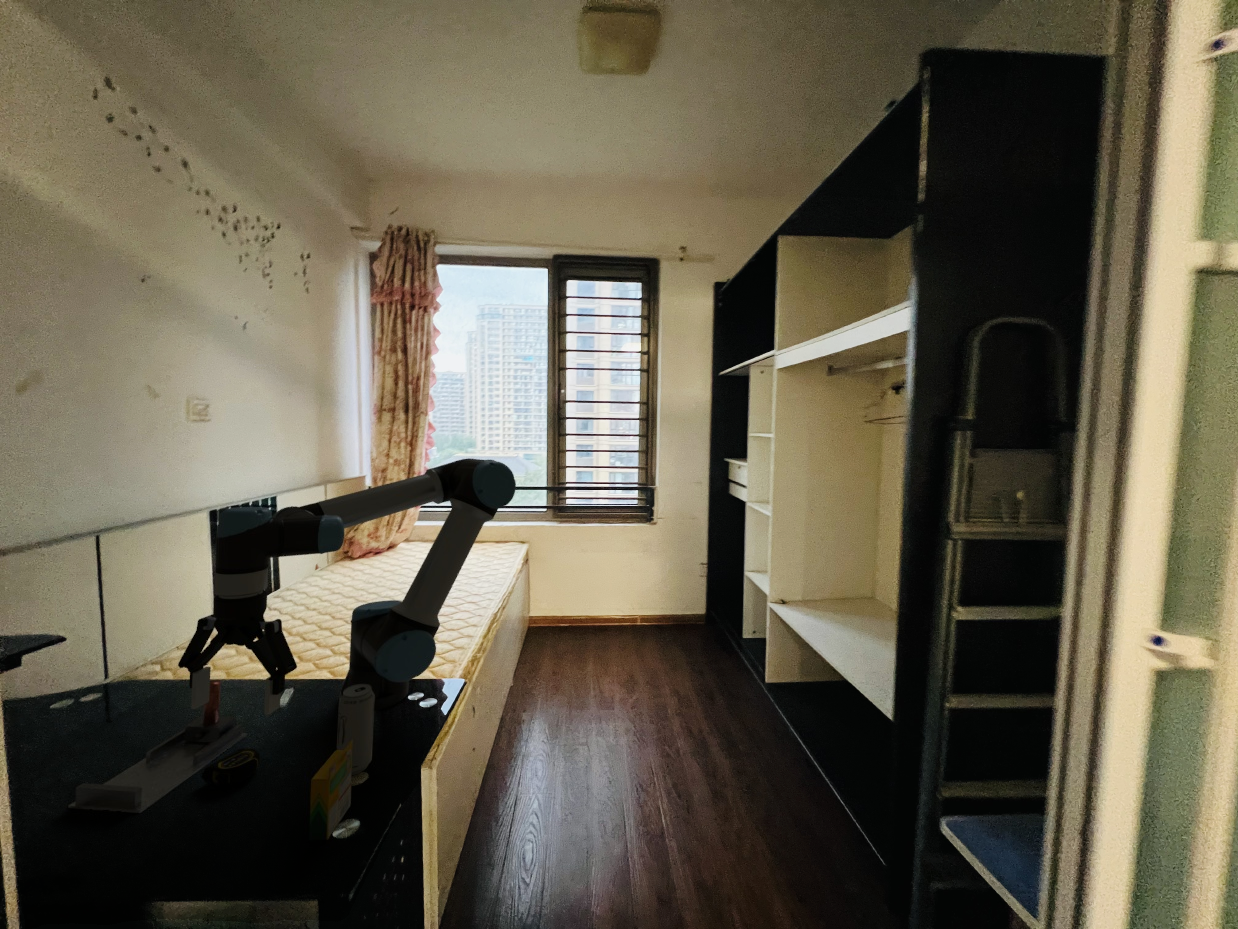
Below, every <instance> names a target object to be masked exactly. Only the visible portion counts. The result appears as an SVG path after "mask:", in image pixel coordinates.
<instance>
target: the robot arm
mask: <svg viewBox="0 0 1238 929" xmlns="http://www.w3.org/2000/svg"><path fill="white" fill-rule="evenodd" d="M514 476H515V475H514V472H513V471H512V470H511V469H510V467H509V466H507V465H506V464H505V463H503V462H501V461H497V460H494V459H477V458H462V459H458V460H455V461H452V462H449V463H446V464H442V465H439V466H436V467H435V466H434V467H431V468H427V469H426V471H425V472H424V473H423V474H419V475H416V476H413V477H408V478H405V479H400V480H397V481H392V482H389V483H385V484H382V485H378V486H373V487H370V488H367V489H362V490H359V491H355V492H351V493H348V494H343V495H340V496H336V497H335V496H334V497H332V498H329V499H328V498H327V499H324V500H319V501H317V502H314V503H308V504H305V505H301V506H296V505H295V506H293V505H292V506H286V507H283V508H280V509H279V510H278V511H276V512H275V513H274V514H273V515H272V511H271V509H270V508H268V507H263V506H237V507H230V508H229V507H228V508H226V509H223V510H222V511H221V512H220V513H219V514H218V515H219V516H218V521H217V522H218V523H217V529H216V530H217V531H216V534H215V536H216V537H215V538H216V540H215V542H216V543H215V571H214V572H215V574H214V585H213V586H214V587H213V590H214V591H213V593H214V594H215V595H216V596H214V598H213V610H212V611H213V613H212V614H209V615H207V616H204V617H201V618H199V619H198V620H197V622H196V623H197V624H196V629H195V633H194V634H193V636H192V638H191V639H190V641H189V643H188V645H187V646H186V648H185V650H184V652H183V654H182V656H181V657H180V659H179V661H178V663H177V667H178V668H180V669H183V668H185V669H187V671H188V672H189V683H188V684H189V685H188V686H189V689H191V704H190V710H197V709H198V708H200V707H202V706H204V704H205V703H207V702H209V692H210V681H211V668H212V667H211V666H208V665H209V662H210V661H211V660H212V659H213V658H214V657H215V656H216V655H217V654H218V653H219V652H220V651H221V649H223V647H224V646H225V645H226V646H231V645H236V646H239V647H244V646H245V647H246V649H247V650H250V651H251V652H252V653H253V654H254V656H255V657H256V659H257V660H258V661H259V663H260V664H261V666H262V667H263V668H264V669H265V671H266V672H267V673H268V674H269V676H268V677H267V678H265V692H264V693H265V695H264V715H265V716H269V715H270V714H272V713H273V712H275V711H276V710H278V709H280V707H281V699H282V698H281V695H282V694H281V693H283V692H284V691H285V688H286V687H285V683H286V676H287V675H288V674H290V673H292V672H294V670H296V669H297V667H298V664H297V663H296V660H295V657H294V655H293V653H292V650H291V648H290V646H289V644H288V641H287V639H286V637H285V634H284V632H283V623H282V620H281V619H280V618H276V619H274V620H271V621H267V620H265V617H264V614H265V612H266V610H267V607H268V604H267V603H268V592H267V591H266V589H267V588H268V586H269V585H268V583H269V582H268V579H269V565H270V563H269V562H270V558H271V559H273V558H283V557H293V556H294V557H295V556H306V555H318V554H319V555H323V554H327V553H335V552H338V551H339V550H341V548H342V546H343V544H344V540H345V529H347V528H351V527H354V526H357V525H361V524H364V523H367V522H371V521H374V520H378V519H380V518H383V517H384V518H385V517H386V516H390V515H394V514H396V513H400V512H403V511H407V510H410V509H413V508H416V507H420V506H424V505H426V504H430V503H434V504H437V505H440V504H442V503H446V502H450V505H451V509H450V512H449V513H448V515H447V517H446V519H445V521H444V523H443V525H442V526H441V528H440V530H439V532H438V534H437V536H436V538H435V540H434V542H433V543H432V545H431V547H430V549H429V550H428V553H427V555H426V557H425V558H424V560H423V561H422V564H421V566H420V568H419V570H418V571H417V574H416V575H415V577H414V579H413V582H412V583H411V585H410V587H409V588H408V590H407V592H406V594H405V596H404V598H403V600H402V601H401V600H398V599H397V600H396V599H394V600H393V599H392V600H391V599H389V600H378V601H373V602H367V603H363V604H361V605H358V606H356V607H355V608H354V609H353V611H352V613H351V619H350V623H351V624H350V625H351V626H350V642H349V643H350V645H349V650H350V651H349V668H348V671H347V673H346V676H345V679H344V680H343V684H342V686H341V689H340V692H339V700H340V699H341V697H342V695H343V691H344V690H345V689H346V688H348V687H350V686H353V685H357V684H368V685H370V686H371V687H372V691H373V693H374V694H375V702H374V712H376V711H380V710H383V709H387V708H389V707H392V706H394V705H396V704H398V703H401V701H402V700H403V699H405V698H406V697H407V695H408V693H409V686H410V684H409V682H410V681H412V680H413V679H414V678H416V677H419V676H421V675H422V674H423V673H424V672H426V670H427V669H429V667H430V666H431V664H432V663H433V661H434V659H435V657H436V656H435V655H436V653H437V645H436V640H435V636H436V634H437V633H438V630H439V628H440V626H441V622H440V620H439V617H438V616H439V614H440V611H441V609H442V607H443V605H444V604H445V602H446V600H447V597H448V595H449V593H450V592H451V590H452V588H453V585H454V583H455V582H456V579H457V578H458V576H459V574H460V571H461V570H462V568H463V566H464V564H465V562H466V559H467V558H468V556H469V554H470V551H471V550H472V548H473V546H474V544H475V542H476V540H477V538H478V536H479V534H480V532H481V530H482V529H483V526H484V525H485V523H488V522H489V521H492V520H494V518H495V516H496V514H497V512H498V509H501V508H503V507H505V506H507V505H509V503H510V502H511V501H512V500H513V499H514V497H515V494H516V487H517V483H516V482H517V481H516V479H515V477H514ZM214 630H216V632H217V633H216V635H215V636H214V637H213V638H211V640H210V637H211V636H212V634H213V632H214ZM256 639H257V640H256ZM209 640H210V641H209ZM208 641H209V644H208V645H207V643H208ZM206 645H207V646H206ZM339 700H338V701H339Z"/></svg>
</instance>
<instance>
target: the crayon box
mask: <svg viewBox="0 0 1238 929" xmlns="http://www.w3.org/2000/svg"><path fill="white" fill-rule="evenodd" d="M352 744H353V740H352V741H351V742H350V743H349V744H348V745H347V747H346V748H345V749H344V750H337V749H336V750H335V751H334V752H333V753H331V755H330V757H329V758H328V759H327V760H326V761H325V763H324V764H322V766H321V767H320V769H318V771H317V772H316V773H315V774H314V776H313V777H312V778H311V780H310V800H309V801H310V802H309V803H310V806H309V808H310V810H309V836H308V838H309V841H328V840H329V839H330V837H331V836H332V834H333V832H334V831H335V829H336V828H337V826H338V825H339V823H340V822H341V820H342V819H343V818H344V816H345V814H346V813H347V811H348V810H349V808H350V807H351V801H352V800H351V799H352V775H351V768H352Z"/></svg>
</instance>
